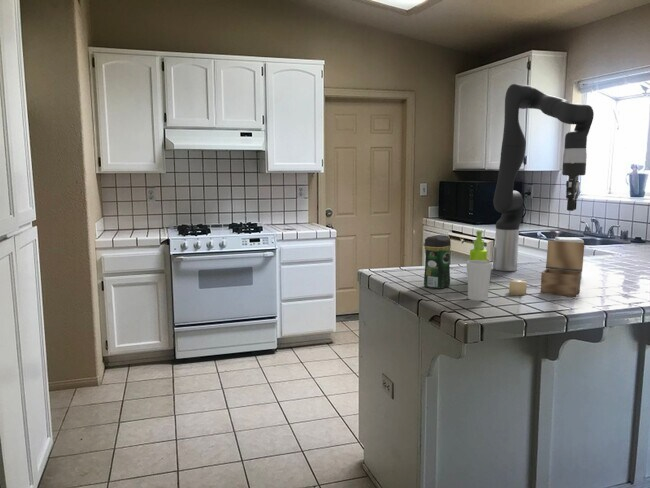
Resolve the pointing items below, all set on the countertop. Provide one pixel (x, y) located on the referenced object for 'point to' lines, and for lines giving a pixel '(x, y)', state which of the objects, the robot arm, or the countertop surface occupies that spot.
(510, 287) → the domed cream knob
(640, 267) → the countertop surface
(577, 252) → the lid
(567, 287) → the box
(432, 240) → the coffee jar
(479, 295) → the cup
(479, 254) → the soap dispenser
